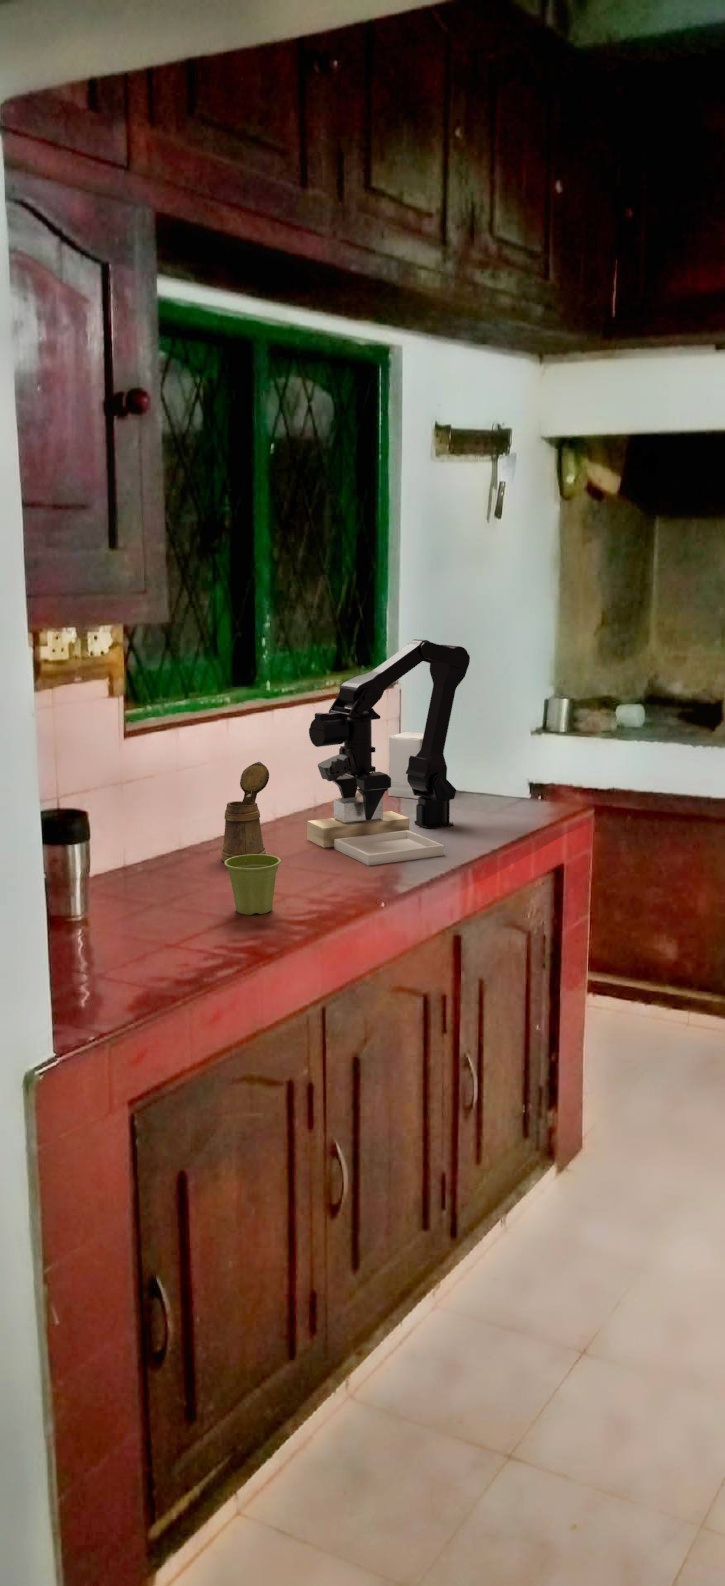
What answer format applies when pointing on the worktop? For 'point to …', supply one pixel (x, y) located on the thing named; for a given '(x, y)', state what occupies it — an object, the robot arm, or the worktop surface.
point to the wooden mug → (245, 816)
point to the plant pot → (253, 882)
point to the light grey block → (354, 809)
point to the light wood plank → (353, 828)
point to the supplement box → (402, 762)
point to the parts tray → (388, 847)
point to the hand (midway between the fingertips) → (358, 815)
